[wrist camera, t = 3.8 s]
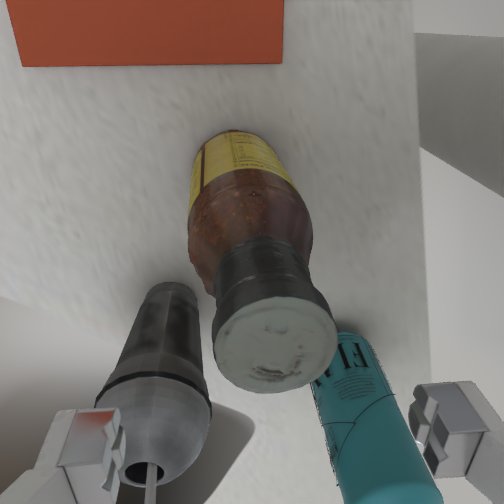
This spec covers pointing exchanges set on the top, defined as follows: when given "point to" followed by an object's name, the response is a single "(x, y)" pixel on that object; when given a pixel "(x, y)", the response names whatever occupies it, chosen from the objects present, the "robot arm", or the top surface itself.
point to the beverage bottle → (369, 431)
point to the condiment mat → (147, 32)
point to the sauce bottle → (257, 267)
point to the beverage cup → (160, 390)
